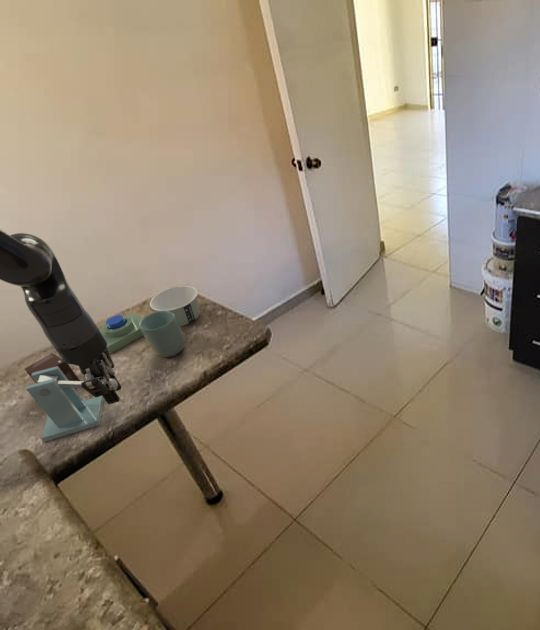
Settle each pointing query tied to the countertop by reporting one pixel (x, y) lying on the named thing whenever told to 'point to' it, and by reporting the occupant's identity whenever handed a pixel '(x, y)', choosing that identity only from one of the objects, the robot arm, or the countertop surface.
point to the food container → (178, 303)
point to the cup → (163, 333)
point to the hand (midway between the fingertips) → (115, 395)
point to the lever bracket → (63, 406)
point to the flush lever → (72, 382)
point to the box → (52, 362)
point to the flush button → (116, 322)
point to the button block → (122, 333)
